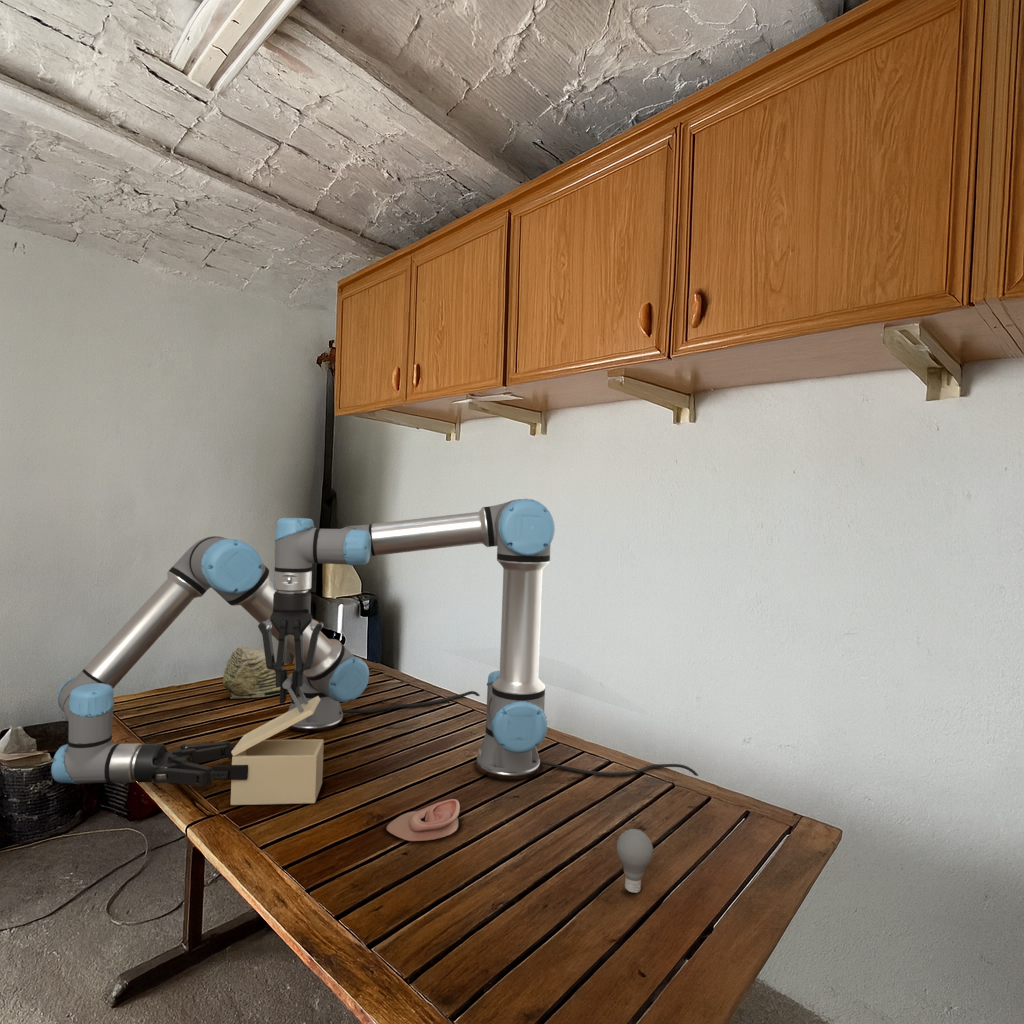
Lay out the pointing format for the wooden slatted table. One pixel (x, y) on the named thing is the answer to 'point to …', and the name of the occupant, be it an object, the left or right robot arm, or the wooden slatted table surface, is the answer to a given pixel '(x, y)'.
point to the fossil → (249, 674)
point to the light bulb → (634, 857)
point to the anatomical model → (427, 822)
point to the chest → (279, 772)
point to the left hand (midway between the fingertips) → (253, 761)
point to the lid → (279, 720)
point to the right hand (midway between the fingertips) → (288, 701)
